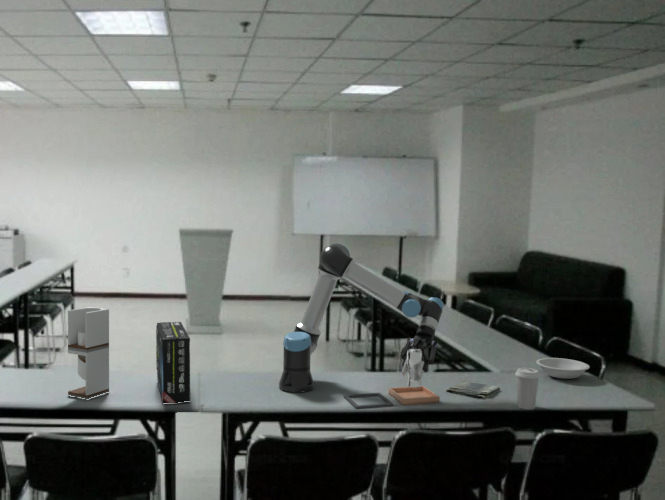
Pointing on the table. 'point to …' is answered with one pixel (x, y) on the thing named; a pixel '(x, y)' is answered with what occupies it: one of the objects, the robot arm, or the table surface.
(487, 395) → the dish towel
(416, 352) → the beer glass
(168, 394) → the router box
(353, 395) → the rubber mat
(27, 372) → the table surface
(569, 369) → the soup bowl
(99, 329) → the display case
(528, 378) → the coffee cup
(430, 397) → the terracotta tray
